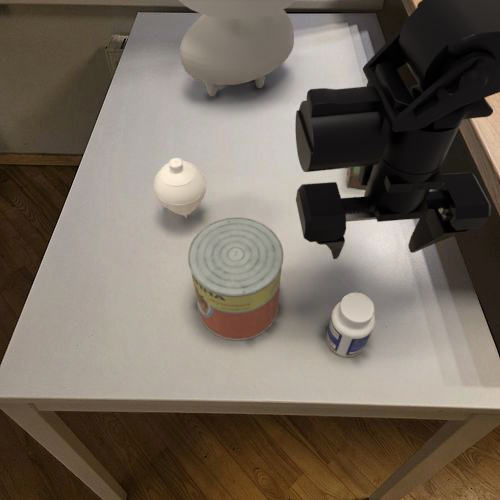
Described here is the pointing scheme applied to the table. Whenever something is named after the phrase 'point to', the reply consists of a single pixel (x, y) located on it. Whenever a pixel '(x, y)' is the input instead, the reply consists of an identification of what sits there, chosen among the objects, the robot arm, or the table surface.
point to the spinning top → (180, 186)
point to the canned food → (236, 277)
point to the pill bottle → (351, 324)
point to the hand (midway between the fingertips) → (372, 252)
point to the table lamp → (236, 41)
